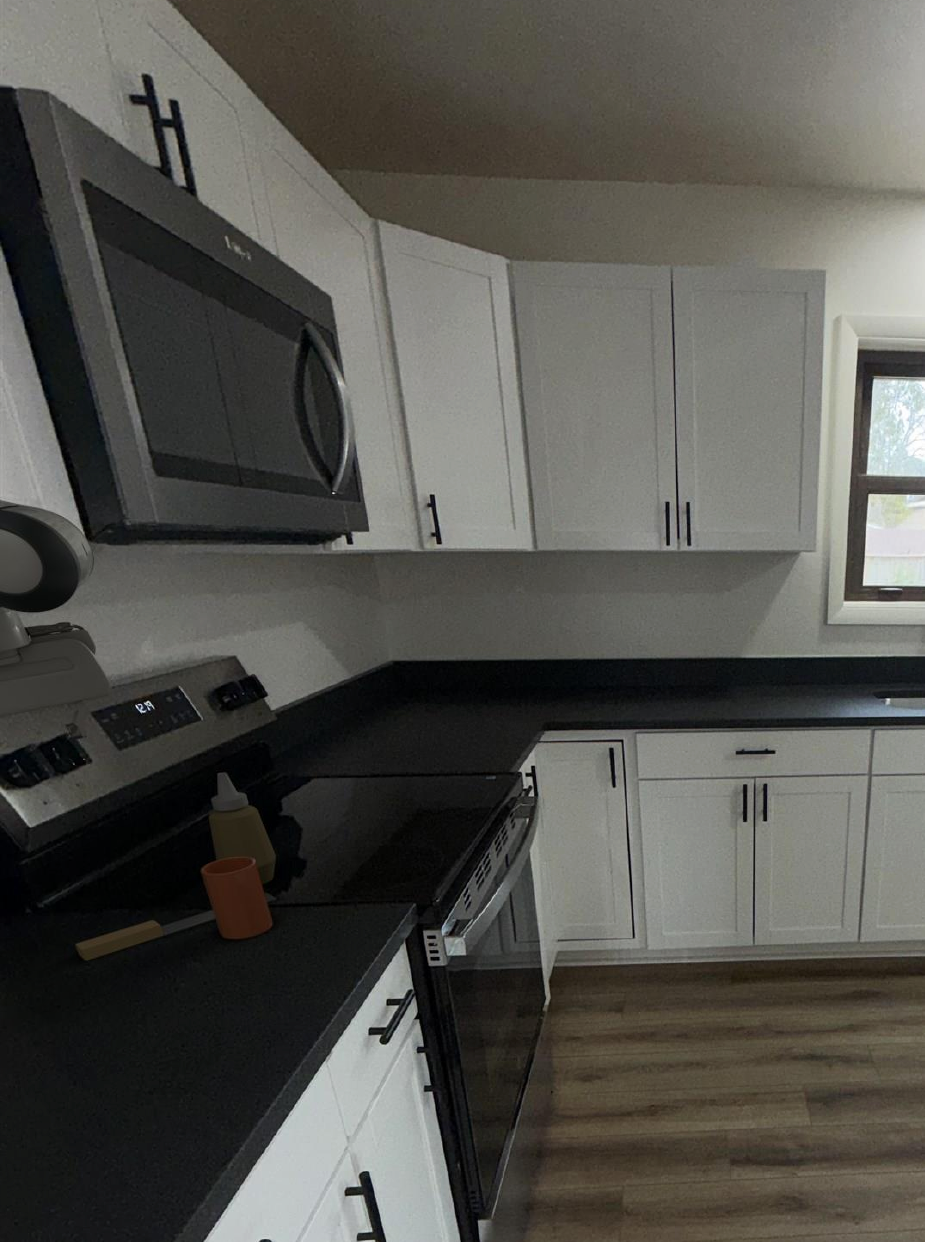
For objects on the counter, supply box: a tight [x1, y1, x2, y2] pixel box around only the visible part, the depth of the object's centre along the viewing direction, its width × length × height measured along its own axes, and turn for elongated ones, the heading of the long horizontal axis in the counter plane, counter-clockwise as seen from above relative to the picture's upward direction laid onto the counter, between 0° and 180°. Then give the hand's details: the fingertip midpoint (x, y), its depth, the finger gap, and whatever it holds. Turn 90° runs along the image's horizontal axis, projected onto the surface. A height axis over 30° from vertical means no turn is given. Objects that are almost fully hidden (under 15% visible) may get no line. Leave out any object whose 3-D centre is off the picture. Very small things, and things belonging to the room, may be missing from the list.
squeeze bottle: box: [208, 771, 277, 885], centre depth 123 cm, size 8×8×18 cm
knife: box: [75, 892, 277, 962], centre depth 113 cm, size 24×3×2 cm, turn 142°
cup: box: [200, 857, 274, 940], centre depth 110 cm, size 6×6×10 cm
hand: (34, 747), depth 99 cm, fingers open, 8 cm apart
